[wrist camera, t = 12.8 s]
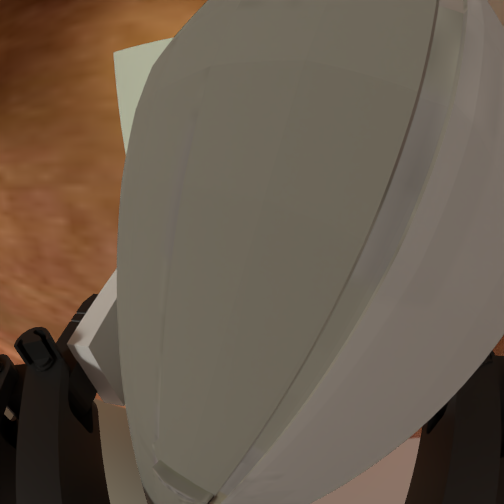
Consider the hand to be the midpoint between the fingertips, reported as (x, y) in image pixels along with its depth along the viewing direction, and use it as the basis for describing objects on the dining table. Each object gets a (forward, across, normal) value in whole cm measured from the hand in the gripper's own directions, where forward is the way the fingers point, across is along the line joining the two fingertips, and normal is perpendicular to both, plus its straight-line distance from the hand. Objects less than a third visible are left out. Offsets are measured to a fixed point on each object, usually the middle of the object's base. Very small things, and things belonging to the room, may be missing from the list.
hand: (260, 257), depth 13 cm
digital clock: (+1, 0, -1) cm, 1 cm away
